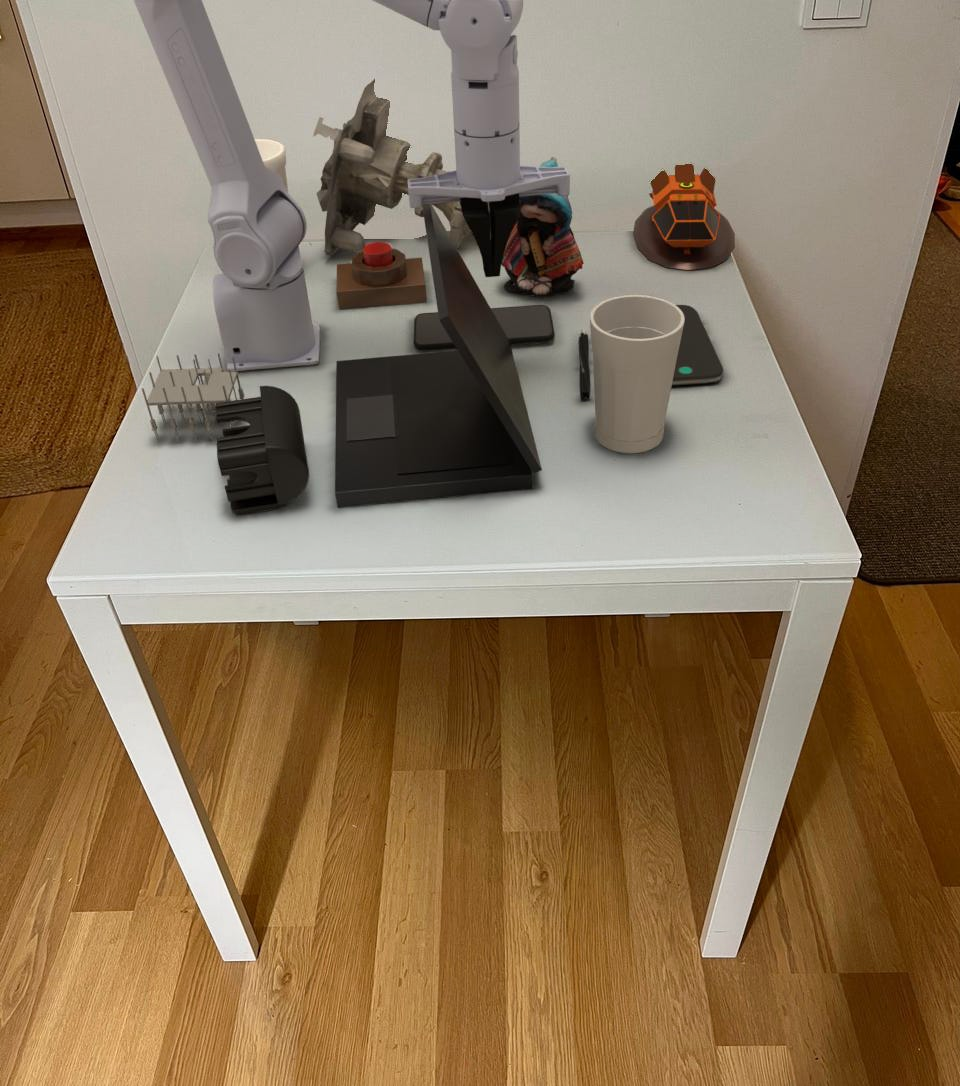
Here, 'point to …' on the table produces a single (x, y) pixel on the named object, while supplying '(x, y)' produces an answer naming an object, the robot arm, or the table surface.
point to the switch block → (380, 282)
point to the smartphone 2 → (695, 353)
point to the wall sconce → (371, 175)
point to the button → (378, 254)
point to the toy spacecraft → (684, 222)
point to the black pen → (584, 365)
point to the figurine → (542, 246)
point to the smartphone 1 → (514, 321)
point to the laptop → (419, 432)
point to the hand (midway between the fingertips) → (491, 272)
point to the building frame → (191, 392)
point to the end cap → (262, 451)
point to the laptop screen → (478, 336)
